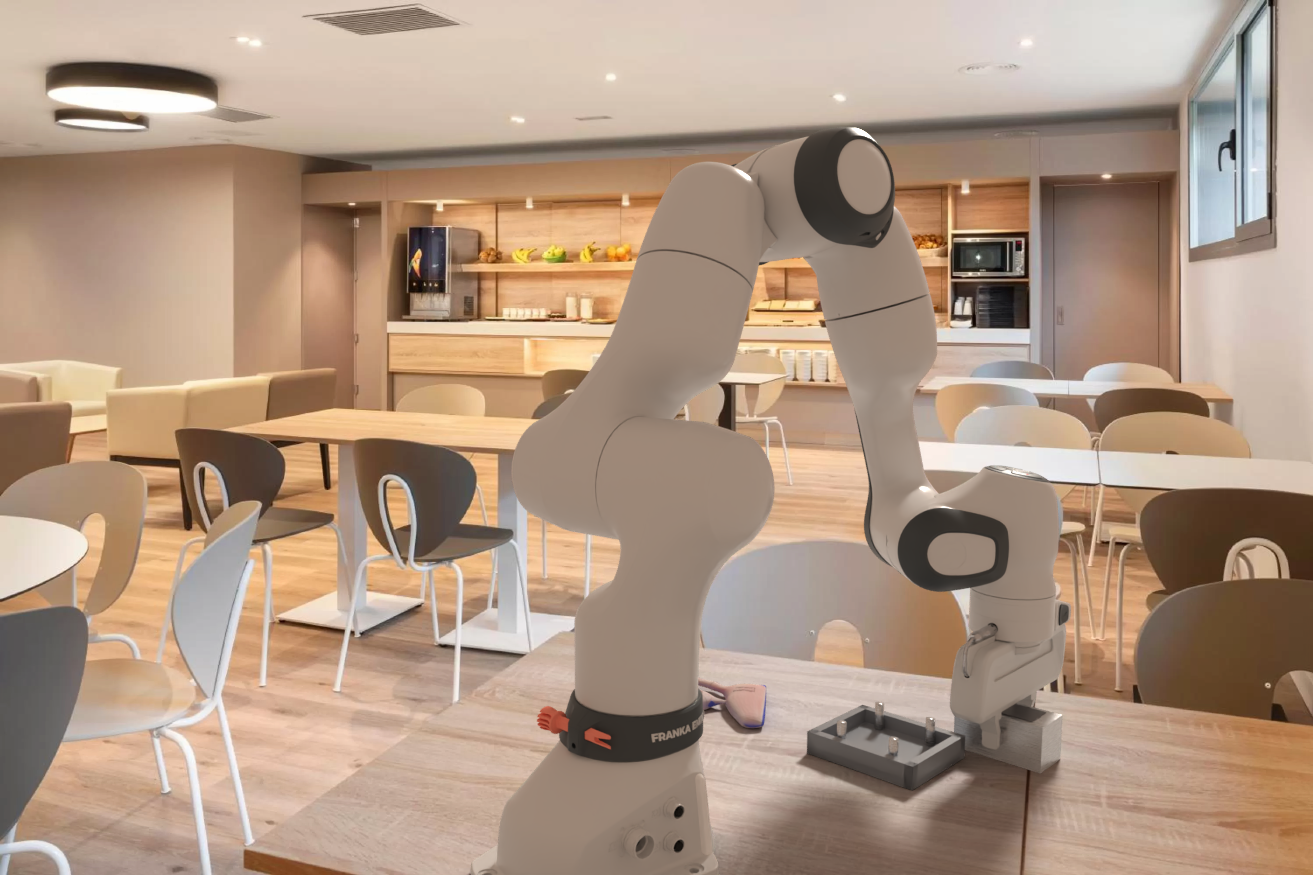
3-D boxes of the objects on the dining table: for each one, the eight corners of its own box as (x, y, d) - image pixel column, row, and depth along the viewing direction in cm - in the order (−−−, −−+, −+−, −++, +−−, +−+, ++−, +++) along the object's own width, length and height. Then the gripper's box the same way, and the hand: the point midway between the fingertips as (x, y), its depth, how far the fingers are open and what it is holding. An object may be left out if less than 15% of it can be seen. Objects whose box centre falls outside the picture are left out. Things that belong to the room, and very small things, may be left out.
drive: (1040, 773, 111) (1042, 726, 110) (953, 746, 118) (955, 702, 117) (1060, 758, 115) (1062, 713, 114) (974, 733, 122) (976, 690, 121)
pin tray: (912, 790, 107) (913, 752, 106) (806, 753, 116) (807, 718, 115) (964, 757, 115) (966, 722, 114) (862, 724, 124) (863, 692, 123)
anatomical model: (763, 737, 122) (768, 690, 137) (764, 713, 122) (768, 668, 136) (591, 724, 125) (613, 680, 140) (591, 701, 124) (613, 659, 139)
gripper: (994, 643, 105) (988, 776, 107) (1078, 602, 120) (1071, 719, 121) (936, 629, 109) (932, 757, 111) (1024, 592, 124) (1019, 705, 126)
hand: (1006, 737), depth 116 cm, fingers closed on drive, 5 cm apart
